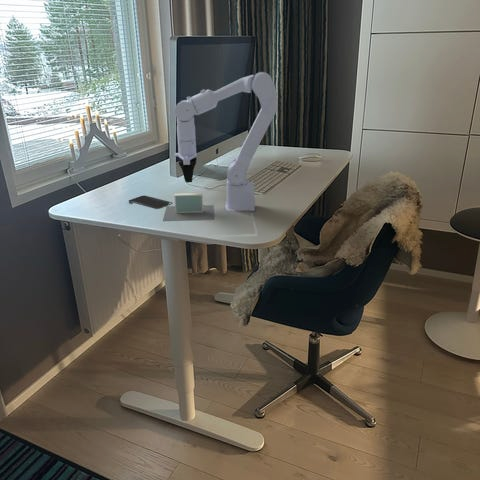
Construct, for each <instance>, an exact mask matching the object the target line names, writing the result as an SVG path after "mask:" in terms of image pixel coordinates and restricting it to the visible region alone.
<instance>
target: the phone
mask: <svg viewBox="0 0 480 480" xmlns="http://www.w3.org/2000/svg"><path fill="white" fill-rule="evenodd" d="M128 203H129V204H130V205H134V204H137V205H139V206H143V207H147V208H152V209H155V210H159V209H162V208H163V209H164V208H166V207H167V206H171V205H173V201H168V200H164V199H160V198H157V197H153V196H149V195H140V196H138V197H137V196H136V197H135V198H131V199H128Z"/></svg>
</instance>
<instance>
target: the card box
mask: <svg viewBox="0 0 480 480" xmlns="http://www.w3.org/2000/svg"><path fill="white" fill-rule="evenodd" d="M203 193H204V192H203ZM203 193H202V192H196V193H195V192H193V193H191V192H189V193H174V206H175V212H176V213H189V212H203V205H204V200H203V198H204V196H203Z"/></svg>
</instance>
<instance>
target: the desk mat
mask: <svg viewBox="0 0 480 480" xmlns="http://www.w3.org/2000/svg"><path fill="white" fill-rule="evenodd" d="M164 210H165V211H164V215H163V218H162V222H181V221H182V222H183V221H184V222H186V221H214V220H215V206H214V204H208V205H207V204H205V205H204V204H203V212H189V213H176V212H175V205H168V206H165V209H164Z"/></svg>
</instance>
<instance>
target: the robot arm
mask: <svg viewBox="0 0 480 480" xmlns="http://www.w3.org/2000/svg"><path fill="white" fill-rule="evenodd" d="M276 89H277V88H276V85H275V84H274V82H273V79H272V77H271V75H270V74H269V73H267V72H265V71H259V72H257V73H255V74H251V75H247V76H244V77H241V78H239V79H237V80H234V81H233V82H231V83H228V84H227V85H225V86H223V87H221V88H219V89H216V90H214V91H213V90H211V89H208V88H207V89H205V88H203V89H201V90H200V92H199V93H198V94H195V95H193V96H186V99H184V100H180V101H179V102H178V103H177V104H176V106H175V108H174V114H175V117H176V124H177V125H176V134H177V135H176V136H177V137H176V138H177V147H178V148H177V149H178V150H177V151H178V152H176V153H174V156H175V157H178V158H179V160H178V165H179V167H180V169H181V171H182V174H183V179H184V182H185V183H193V177H194V169H195V167H196V165H197V156H198V153H197V144H196V143H197V140H196V125H195V116H200V115H202V114H204V113H207V112H209V111H211V110H213V109H215V108H216V107H217V106H218V102H220V101H223V100H226V99H227V98H229V97H232V96H234V95H236V94H239V93H248V94H251V93H252V91H253V93H254V94H255V96H256V97H257V98H258V101H259V104H260V107H261V108H260V110H259V112H258V113H257V116H256V118H255V120H254V122H253V124H252V126H251V128H250V130H249V132H248V133H247V136H246V138H245V139H244V142H243V144H242V146H241V148H240V150H239V152H238V153H237V155H236V156H235V158H234V159H233V160H232V161H230V162H229V164H228V167H227V172H226V178H227V180H226V183H225V184H226V185H225V186H226V187H225V189H226V202H225V204H224V205H225V211H226V212H229V211H230V212H231V211H233V212H234V211H235V212H236V211H238V212H239V211H250V212H255V204H256V199H255V197H256V196H255V194H256V193H255V192H256V191H255V183H254V182H253V181H249V180H248V179H247V172H248V169H249V167H250V165H251V162H252V159H253V157H254V156H255V154H256V151H257V150H258V147H259V145H260V144H261V141H262V140H263V138H264V136H265V134H266V132H267V130H268V128H269V126H270V125H271V123H272V120H273V118H274V117H275V115H276V112H277V110H278V100H277V99H278V98H277V90H276Z"/></svg>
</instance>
